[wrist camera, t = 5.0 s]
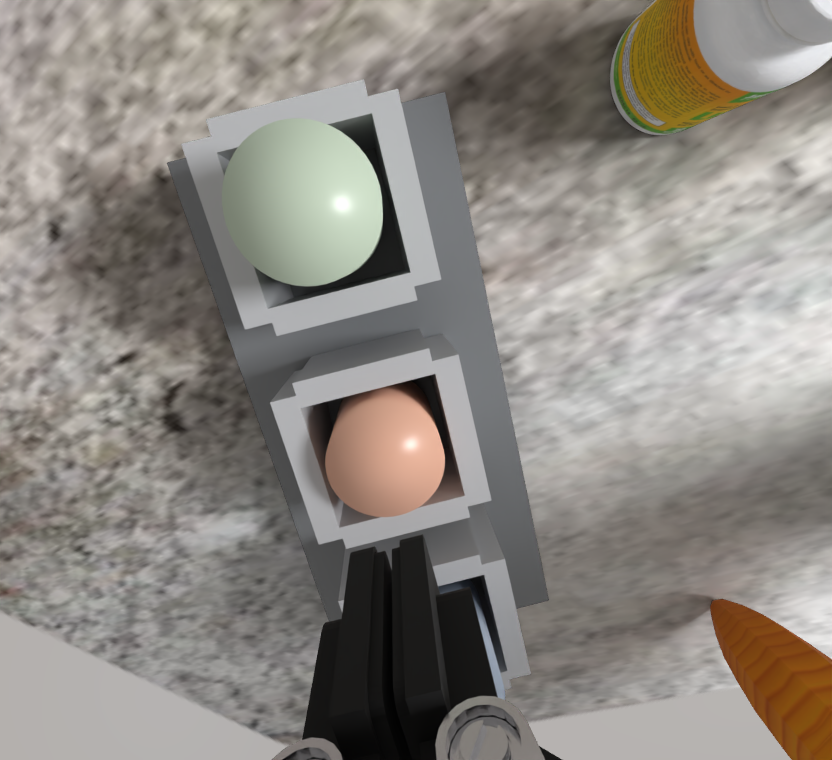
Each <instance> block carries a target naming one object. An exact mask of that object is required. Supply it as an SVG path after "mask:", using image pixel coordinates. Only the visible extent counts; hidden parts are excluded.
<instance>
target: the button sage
mask: <svg viewBox="0 0 832 760" xmlns="http://www.w3.org/2000/svg"><path fill="white" fill-rule="evenodd" d="M222 208H223V215H224V219H225V222H226V226H227V228H228V231H229V233H230V236H231V238H232V239H233V241H234V243H235V245H236V246H237V248H238V249H239V250H240V252H241V253H242V255H243V256H244V257H245V258H246V259H247V260H248V261H249V262H250V263H251V264H252V265H253V266H254V267H256V268H257V269H258V270H260V271H261V272H263V273H264V274H266V275H267V276H269V277H271V278H273V279H275V280H278V281H281V282H283V283H286V284H291V285H296V286H318V285H324V284H328V283H331V282H334V281H336V280H338V279H340V278H343V277H345V276H347V275H349V274H351V273H353V272H355V271H356V270H358V269H359V268H361V267H362V266H363V265H364V264H365V263H366V262H367V261H368V260H369V259H370V258H371V257H372V255H373V254H374V252H375V250H376V248H377V246H378V244H379V241H380V238H381V234H382V229H383V207H382V195H381V189H380V185H379V182H378V179H377V175H376V173H375V171H374V169H373V167H372V165H371V163H370V161H369V160H368V158H367V156H366V155H365V154H364V152H363V151H362V150H361V149H360V147H359V146H358V145H357V144H356V143H355V142H354V141H353V140H352V139H350V138H349V137H348V136H346V135H345V134H344V133H342V132H341V131H339V130H337V129H336V128H334V127H332V126H330V125H327V124H325V123H322V122H319V121H315V120H311V119H302V118H292V119H284V120H278V121H275V122H272V123H269V124H267V125H265V126H263V127H261V128H259V129H258V130H256V131H255V132H253V133H252V134H250V135H249V136H248V137H247V138H246V139H245V140H244V141H243V142H242V143H241V144H240V146H239V147H238V148H237V149H236V151H235V152H234V154H233V156H232V158H231V159H230V161H229V164H228V166H227V169H226V172H225V176H224V180H223V186H222Z"/></svg>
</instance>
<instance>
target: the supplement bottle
mask: <svg viewBox="0 0 832 760" xmlns="http://www.w3.org/2000/svg"><path fill="white" fill-rule="evenodd" d="M831 57H832V0H655V1H654V2H652V3H651V4H650V5H649V6H648V7H647V8H646V9H645V10H644V11H643V12H642V13H641V14H640V15H639V16H638V17H637V18H636V19H635V20H634V21H633V22H632V23H631V24H630V25H629V27H628V28H627V29H626V31H625V32H624V34H623V35H622V37H621V39H620V41H619V43H618V45H617V47H616V50H615V53H614V56H613V59H612V64H611V71H610V85H611V92H612V96H613V99H614V102H615V104H616V106H617V108H618V110H619V112H620V113H621V115H622V116H623V118H624V119H625V120H626V121H627V122H628V123H629V124H630V125H632V126H633V127H635V128H636V129H638V130H640V131H642V132H644V133H648V134H652V135H669V134H674V133H677V132H680V131H683V130H686V129H688V128H690V127H693V126H695V125H697V124H699V123H702V122H704V121H706V120H709V119H711V118H714V117H716V116H718V115H720V114H723V113H725V112H727V111H730V110H732V109H734V108H737V107H739V106H741V105H744V104H746V103H748V102H751V101H753V100H756V99H758V98H760V97H763V96H765V95H767V94H770V93H772V92H774V91H777V90H779V89H782V88H784V87H787V86H789V85H791V84H793V83H795V82H797V81H799V80H801V79H803V78H805V77H806V76H808V75H810V74H811V73H813V72H814V71H816V70H817V69H818V68H820V67H821V66H822V65H823V64H825V63H826V62H827V61H828V60H829V59H830V58H831Z"/></svg>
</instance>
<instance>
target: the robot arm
mask: <svg viewBox="0 0 832 760" xmlns="http://www.w3.org/2000/svg"><path fill="white" fill-rule="evenodd" d="M399 544H400V547H398V548H394V549H392V569H391V566H390V563H389V559H388V556H387V553H386V551H382V552H377V549H376V547H375V546H374V547H370V548H366V549H362V550H358V551H354V552H351V553H350V558H349V565H348V573H347V581H346V588H345V596H344V604H343V611H342V619H338V620H334V621H330V622H326V623H325V624H324V625H323V629H322V632H321V638H320V644H319V649H318V655H317V660H316V666H315V671H314V677H313V683H312V688H311V694H310V699H309V705H308V710H307V716H306V721H305V727H304V733H303V738H302V740H300V741H297V742H295V743H294V744H292V745H290V746H288V747H286V748H285V749H283V750H282V751H281V752H280V753H279V754H278V755H276V756H275V757H274V758H273V759H272V760H561V759H560V758H558V757H556V756H555V755H553V754H551V753H550V752H548V751H546V750H545V749H543V748H541V747H540V746H538V744H537V741H536V739H535V737H534V735H533V733H532V731H531V729H530V727H529V724H528V722H527V721H526V719H525V718H524V716H523V715H522V713H521V712H520V710H519V709H517V708H516V707H515V706H514V705H512V704H511V703H510V702H508V701H506V700H503V699H501V698H498V696H497V692H496V688H495V684H494V679H493V675H492V671H491V667H490V663H489V659H488V655H487V651H486V647H485V643H484V639H483V635H482V631H481V627H480V623H479V619H478V615H477V612H476V608H475V604H474V600H473V596H472V592H471V588H470V587H467V588H463V589H459V590H455V591H451V592H447V593H443V594H440V592H439V588H438V585H437V581H436V577H435V574H434V570H433V567H432V563H431V559H430V556H429V552H428V548H427V545H426V541H425V538H424V535H423V534H422V535H418V536H414V537H410V538H406V539H402V540H400V543H399Z"/></svg>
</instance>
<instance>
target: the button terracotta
mask: <svg viewBox="0 0 832 760" xmlns="http://www.w3.org/2000/svg"><path fill="white" fill-rule="evenodd" d="M325 466H326V473H327V477H328V480H329V483H330V485H331V487H332V489H333V490H334V492H335V493H336V495H337V496H338V497H339V498H340V499H341V500H342V501H343V502H344V503H345V504H347V505H348V506H349V507H351V508H353V509H354V510H356V511H358V512H361V513H363V514H366V515H370V516H376V517H394V516H399V515H403V514H406V513H408V512H411V511H413V510H415V509H417V508H418V507H420V506H421V505H423V504H424V503H425V502H426V501H427V500H428V499H429V498H430V497H431V496H432V495H433V494H434V492H435V491H436V490H437V488H438V486H439V484H440V482H441V480H442V477H443V473H444V468H445V454H444V449H443V445H442V442H441V439H440V436H439V432H438V429H437V426H436V423H435V420H434V416H433V413H432V410H431V407H430V404H429V401H428V399H427V397H426V395H425V394H424V392H423V391H422V390H421V389H420V388H419V387H418V386H417V385H416V384H415V383H413V382H412V381H410V380H409V381H405V382H401V383H397V384H393V385H390V386H386V387H382V388H378V389H374V390H370V391H366V392H362V393H358V394H354V395H350V396H346V397H344V398H343V400H342V402H341V404H340V407H339V411H338V414H337V417H336V421H335V424H334V427H333V431H332V434H331V438H330V441H329V444H328V448H327V452H326V458H325Z"/></svg>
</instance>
